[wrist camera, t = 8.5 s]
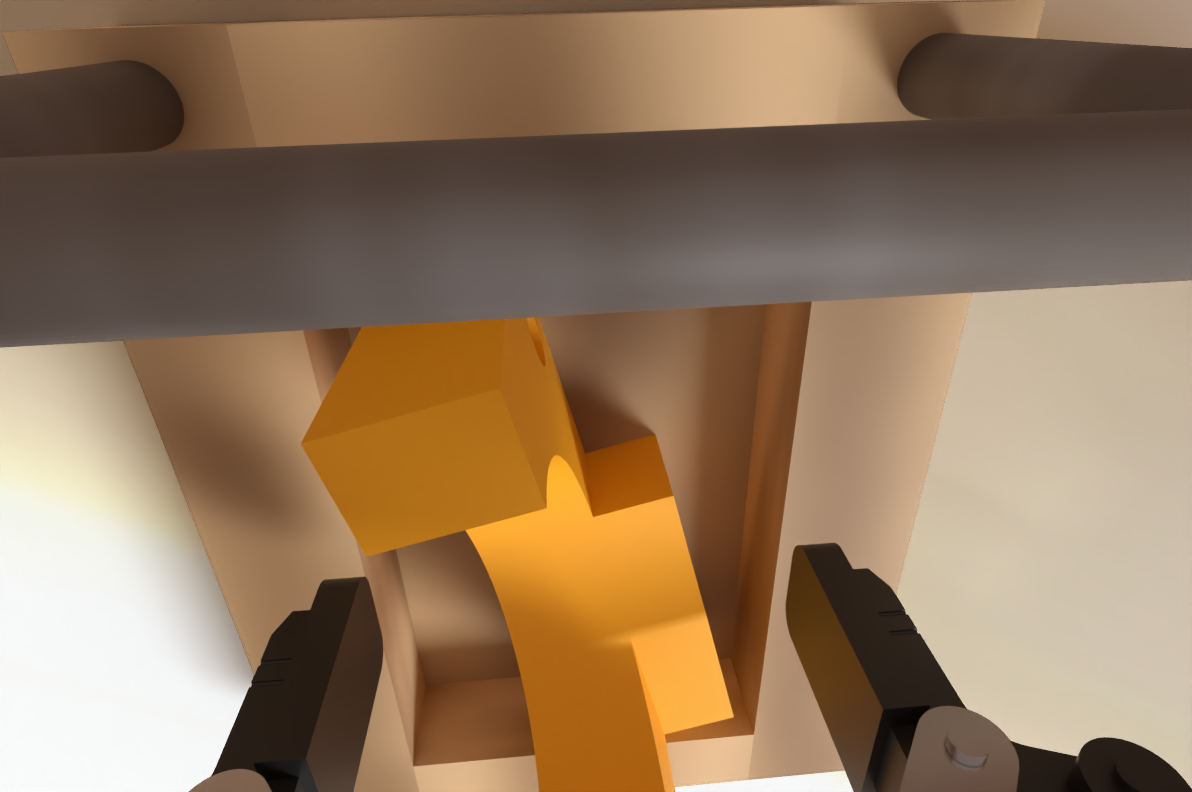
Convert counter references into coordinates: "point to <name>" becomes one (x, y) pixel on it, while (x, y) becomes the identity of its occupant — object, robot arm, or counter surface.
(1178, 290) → the counter surface
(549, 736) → the pipe clamp
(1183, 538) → the counter surface
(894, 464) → the wooden tray
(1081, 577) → the counter surface
